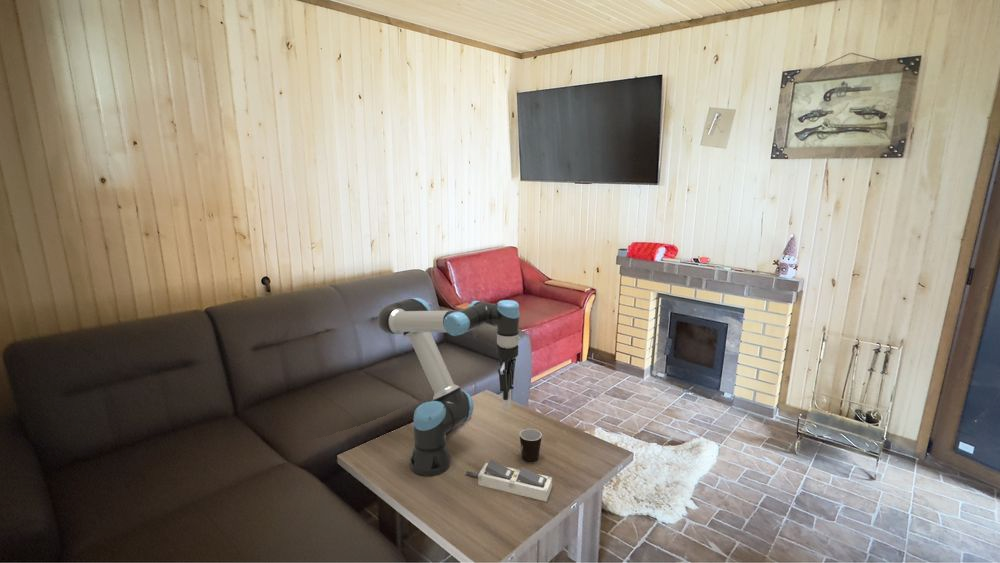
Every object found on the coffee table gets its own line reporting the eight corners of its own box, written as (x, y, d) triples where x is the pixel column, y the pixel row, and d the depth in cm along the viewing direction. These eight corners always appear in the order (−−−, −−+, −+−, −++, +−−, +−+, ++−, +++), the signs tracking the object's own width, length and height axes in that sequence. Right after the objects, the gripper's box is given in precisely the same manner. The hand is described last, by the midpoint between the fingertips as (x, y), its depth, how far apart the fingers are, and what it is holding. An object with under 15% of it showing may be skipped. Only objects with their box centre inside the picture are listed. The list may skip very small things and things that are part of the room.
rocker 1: (484, 470, 167) (486, 466, 166) (489, 463, 171) (491, 458, 171) (507, 483, 165) (509, 478, 164) (511, 475, 169) (513, 470, 169)
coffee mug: (539, 465, 179) (540, 441, 177) (517, 462, 181) (517, 439, 178) (543, 448, 190) (543, 426, 188) (522, 445, 192) (522, 423, 189)
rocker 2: (516, 478, 163) (518, 474, 163) (520, 471, 168) (522, 466, 167) (541, 490, 161) (542, 485, 160) (544, 482, 165) (546, 477, 165)
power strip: (462, 481, 169) (462, 469, 168) (471, 468, 177) (471, 456, 176) (546, 501, 159) (546, 489, 158) (552, 487, 167) (552, 475, 165)
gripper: (512, 352, 157) (510, 416, 162) (523, 340, 169) (521, 400, 174) (491, 349, 159) (490, 413, 165) (503, 337, 171) (502, 396, 177)
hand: (506, 406), depth 169 cm, fingers closed
